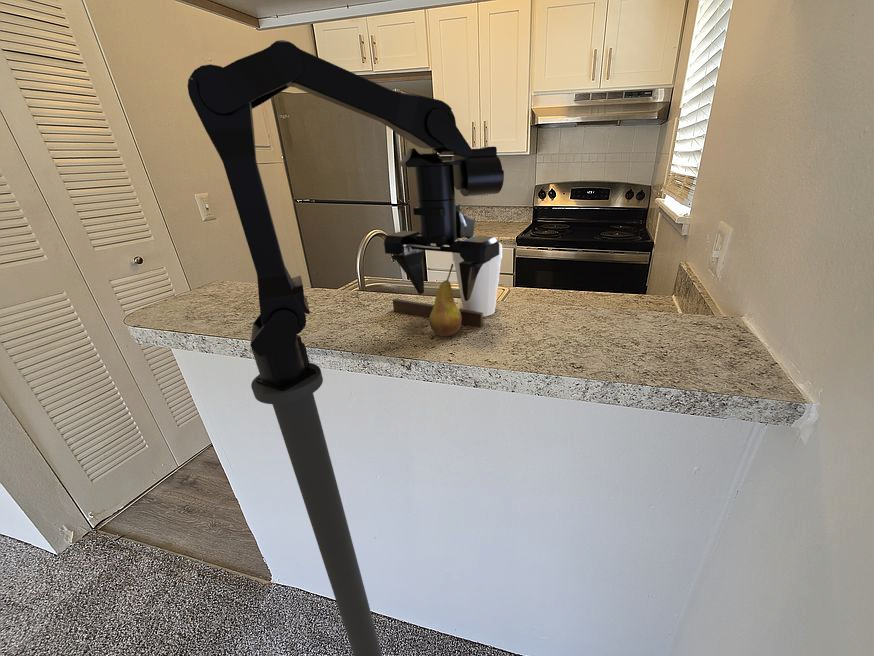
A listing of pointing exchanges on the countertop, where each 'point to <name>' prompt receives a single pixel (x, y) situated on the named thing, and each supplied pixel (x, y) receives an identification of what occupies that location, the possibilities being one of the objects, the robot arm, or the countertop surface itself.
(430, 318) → the fruit
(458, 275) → the foam cup
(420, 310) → the rail
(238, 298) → the countertop surface
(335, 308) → the countertop surface
